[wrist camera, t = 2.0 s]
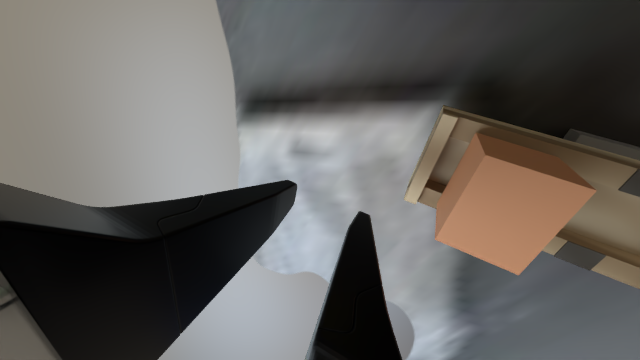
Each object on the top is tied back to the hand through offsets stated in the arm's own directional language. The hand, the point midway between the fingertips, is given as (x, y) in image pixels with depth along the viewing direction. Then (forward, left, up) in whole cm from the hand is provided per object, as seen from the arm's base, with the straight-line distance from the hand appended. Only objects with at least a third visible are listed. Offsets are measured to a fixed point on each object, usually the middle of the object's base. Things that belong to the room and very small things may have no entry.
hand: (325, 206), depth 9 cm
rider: (0, -7, -10) cm, 12 cm away
